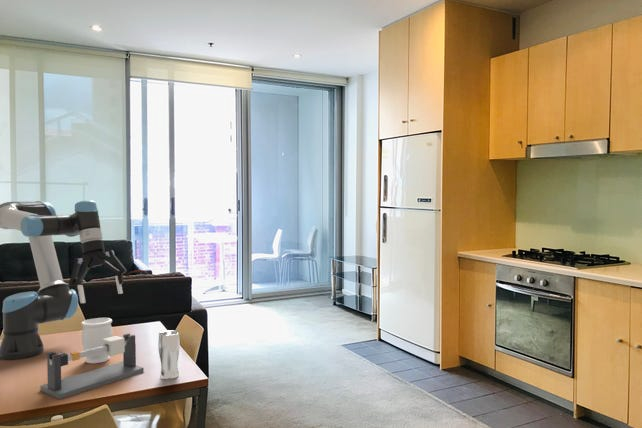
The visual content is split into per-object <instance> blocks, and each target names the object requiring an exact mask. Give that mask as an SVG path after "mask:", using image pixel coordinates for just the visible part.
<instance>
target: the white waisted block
mask: <svg viewBox="0 0 642 428" xmlns="http://www.w3.org/2000/svg"><path fill="white" fill-rule="evenodd" d="M180 344H181V342H180V332H179V331H178V330H173V329H171V330H169V329H168V330H162V331H160V332H159V333H158V344H157V345H158V347H157V348H158V354H159V359H160V360H159V361H160V367H161V368H160V374H159V379H161V380H173V379H176V378H178V377H179V375H180V374H179V368H178V364H179V363H178V360H179V356H180V347H181V345H180Z"/></svg>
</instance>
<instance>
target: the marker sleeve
mask: <svg viewBox="0 0 642 428" xmlns="http://www.w3.org/2000/svg"><path fill="white" fill-rule="evenodd" d="M107 344H108V345H109V350H108V351H104V352H103V354H106V355H109V356H110V357H113V356H117V355H121V354H123V353H125V349H124V338H123V337H121V336H118V335H114V336H113V335H112V337H109V338H105V339H103V345H107Z"/></svg>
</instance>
